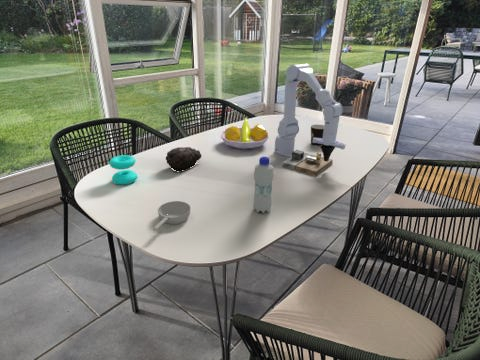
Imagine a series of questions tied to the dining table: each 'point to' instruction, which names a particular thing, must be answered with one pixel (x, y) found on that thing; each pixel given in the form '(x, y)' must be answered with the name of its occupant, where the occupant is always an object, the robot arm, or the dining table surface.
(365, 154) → the dining table surface
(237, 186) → the dining table surface
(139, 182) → the dining table surface
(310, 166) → the wooden latch board
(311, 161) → the lock hardware
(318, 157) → the bolt
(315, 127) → the coffee mug
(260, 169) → the bottle
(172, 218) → the small pan
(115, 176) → the donuts
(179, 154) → the pine cone
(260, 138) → the fruit bowl
